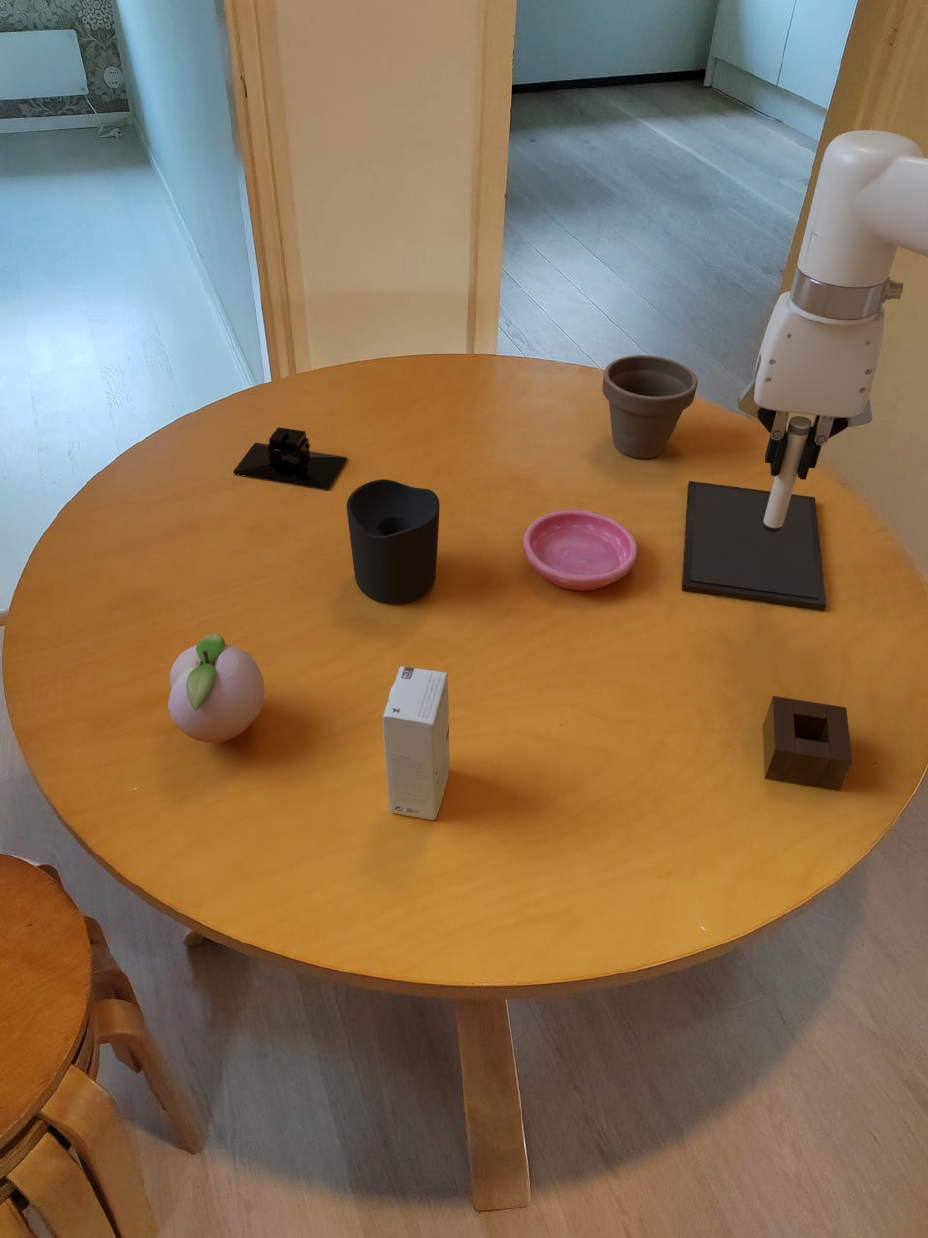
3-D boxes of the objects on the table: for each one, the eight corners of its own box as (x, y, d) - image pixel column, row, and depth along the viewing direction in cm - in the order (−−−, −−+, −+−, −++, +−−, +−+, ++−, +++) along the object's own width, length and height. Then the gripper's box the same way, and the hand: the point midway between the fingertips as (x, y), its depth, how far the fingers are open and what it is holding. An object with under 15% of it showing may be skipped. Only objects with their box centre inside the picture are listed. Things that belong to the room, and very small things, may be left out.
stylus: (780, 525, 103) (811, 416, 94) (781, 537, 102) (812, 427, 93) (760, 523, 103) (789, 414, 95) (761, 535, 102) (790, 425, 93)
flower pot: (643, 413, 133) (655, 344, 127) (702, 452, 126) (717, 382, 120) (576, 437, 129) (584, 367, 122) (634, 479, 122) (645, 408, 115)
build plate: (232, 475, 121) (227, 442, 118) (256, 444, 126) (251, 412, 123) (328, 490, 119) (325, 457, 115) (348, 458, 124) (346, 425, 121)
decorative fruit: (272, 762, 88) (258, 684, 81) (178, 773, 87) (156, 696, 80) (268, 686, 95) (256, 609, 88) (181, 696, 93) (161, 618, 87)
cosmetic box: (436, 822, 83) (437, 727, 75) (385, 813, 84) (380, 718, 76) (451, 766, 88) (453, 671, 80) (402, 758, 88) (399, 663, 80)
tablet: (813, 502, 119) (815, 496, 118) (824, 611, 104) (827, 604, 104) (687, 486, 121) (689, 479, 120) (681, 590, 106) (683, 583, 106)
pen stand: (834, 736, 92) (846, 707, 89) (839, 791, 87) (852, 762, 84) (762, 724, 92) (772, 695, 90) (764, 778, 88) (774, 749, 85)
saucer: (587, 517, 116) (590, 495, 114) (657, 576, 108) (661, 553, 106) (499, 552, 111) (501, 529, 108) (566, 616, 103) (569, 593, 101)
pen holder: (416, 543, 111) (414, 469, 105) (454, 592, 105) (455, 516, 99) (338, 566, 108) (332, 491, 101) (373, 618, 102) (369, 542, 95)
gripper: (926, 281, 87) (867, 459, 99) (742, 265, 89) (706, 441, 101) (939, 318, 81) (874, 502, 94) (743, 300, 83) (705, 481, 96)
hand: (787, 469), depth 97 cm, fingers closed on stylus, 2 cm apart
